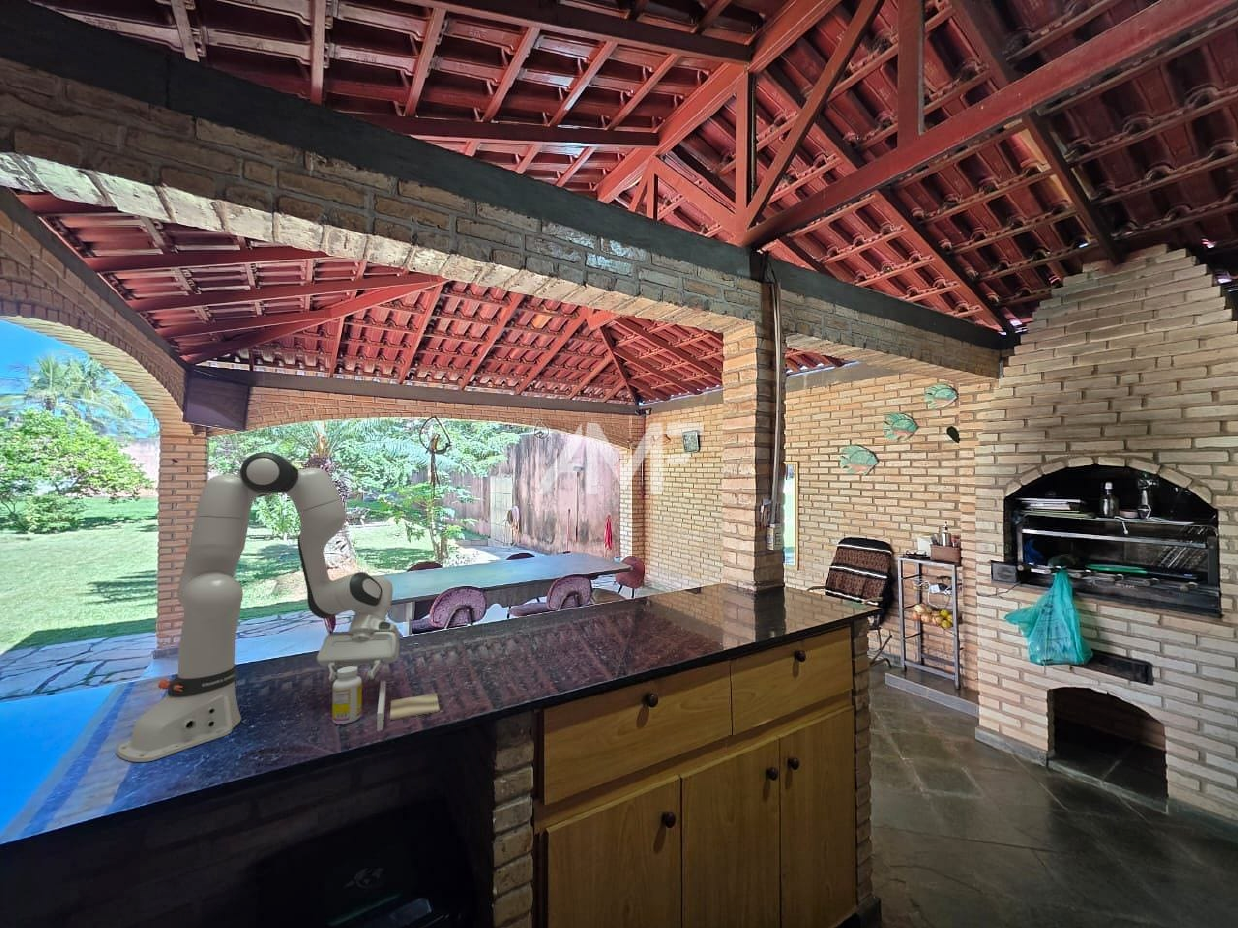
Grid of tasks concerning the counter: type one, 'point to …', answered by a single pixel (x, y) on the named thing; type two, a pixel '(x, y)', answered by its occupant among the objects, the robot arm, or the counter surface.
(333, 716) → the supplement bottle
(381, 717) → the frosted acrylic wall
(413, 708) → the light oak mat
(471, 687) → the counter surface
